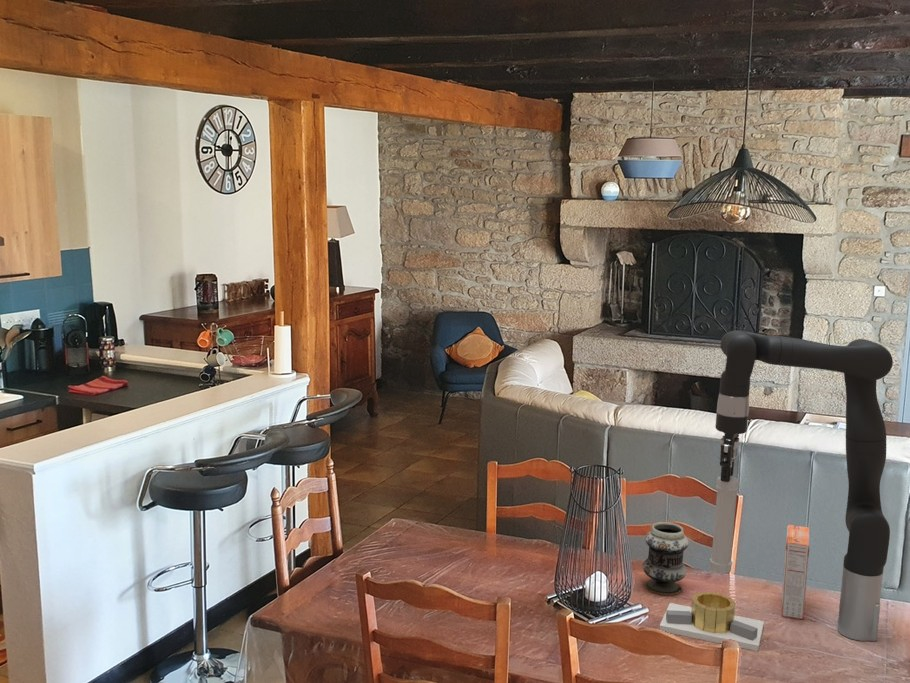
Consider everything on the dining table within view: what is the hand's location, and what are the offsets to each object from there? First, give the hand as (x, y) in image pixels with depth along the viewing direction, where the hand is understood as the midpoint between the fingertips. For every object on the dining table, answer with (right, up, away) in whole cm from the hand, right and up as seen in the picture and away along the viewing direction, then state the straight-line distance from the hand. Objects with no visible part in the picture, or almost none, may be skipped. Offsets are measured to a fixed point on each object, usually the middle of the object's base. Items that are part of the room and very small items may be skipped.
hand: (726, 477), depth 229 cm
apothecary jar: (-9, -36, +29) cm, 47 cm away
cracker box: (+23, -38, +19) cm, 48 cm away
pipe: (-1, -24, +4) cm, 25 cm away
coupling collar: (-2, -38, +5) cm, 38 cm away
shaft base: (-2, -39, +6) cm, 40 cm away
